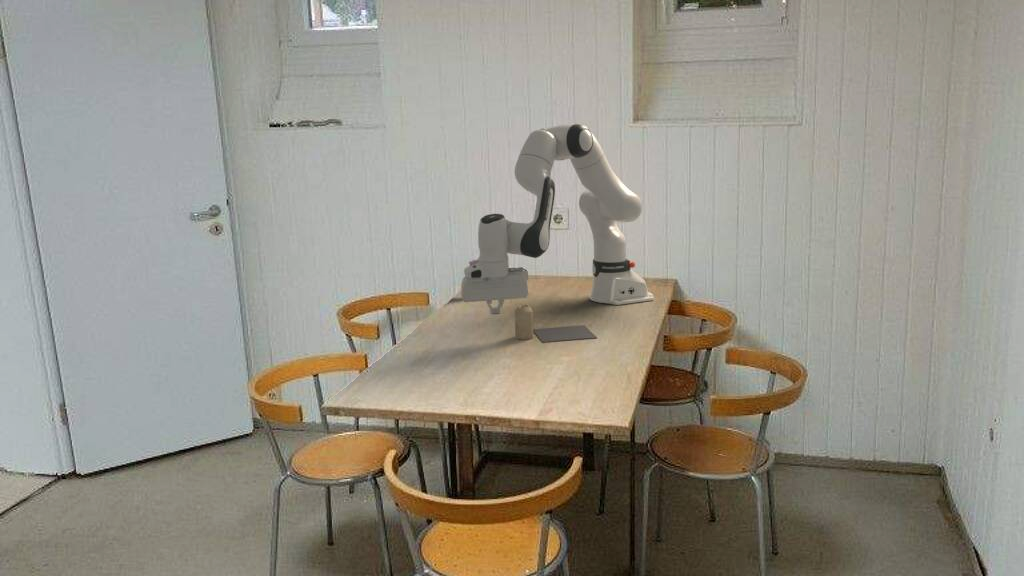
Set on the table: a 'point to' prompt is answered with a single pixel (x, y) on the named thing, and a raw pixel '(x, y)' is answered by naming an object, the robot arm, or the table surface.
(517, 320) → the candle
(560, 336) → the mat
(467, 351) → the table surface
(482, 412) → the table surface
